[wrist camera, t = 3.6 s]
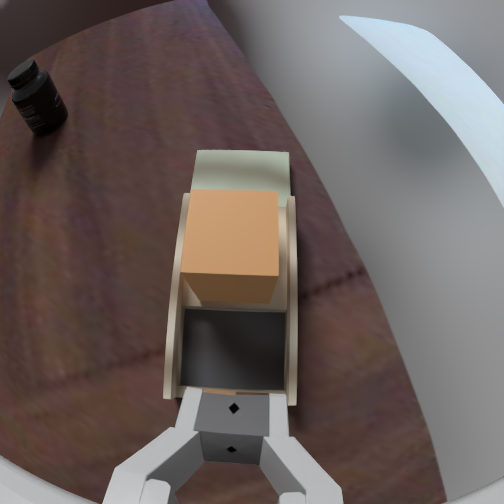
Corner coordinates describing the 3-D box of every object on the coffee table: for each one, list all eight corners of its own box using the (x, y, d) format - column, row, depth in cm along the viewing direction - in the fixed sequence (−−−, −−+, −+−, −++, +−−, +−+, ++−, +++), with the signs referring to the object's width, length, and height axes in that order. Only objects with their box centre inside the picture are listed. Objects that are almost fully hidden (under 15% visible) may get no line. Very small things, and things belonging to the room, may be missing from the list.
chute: (290, 400, 24) (296, 405, 21) (173, 394, 24) (163, 398, 21) (288, 160, 33) (291, 140, 30) (198, 158, 33) (194, 138, 30)
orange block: (269, 303, 26) (278, 275, 18) (199, 300, 26) (180, 272, 18) (270, 239, 28) (278, 191, 21) (205, 237, 28) (191, 189, 21)
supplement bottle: (75, 112, 37) (47, 55, 26) (44, 142, 35) (9, 88, 24) (56, 104, 39) (29, 53, 27) (28, 131, 36) (-4, 83, 25)
